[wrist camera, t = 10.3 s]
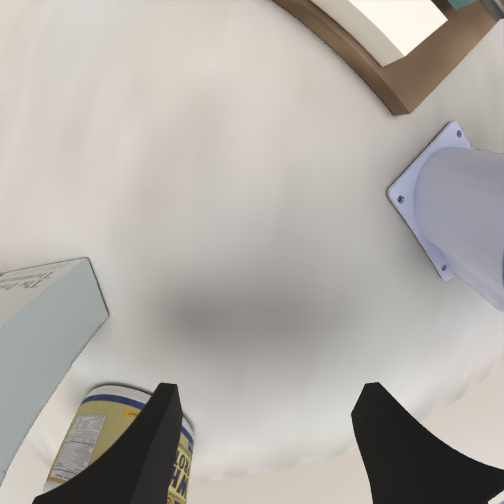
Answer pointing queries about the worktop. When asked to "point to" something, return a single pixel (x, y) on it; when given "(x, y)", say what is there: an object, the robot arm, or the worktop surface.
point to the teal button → (460, 3)
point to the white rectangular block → (385, 24)
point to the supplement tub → (113, 438)
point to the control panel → (415, 62)
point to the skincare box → (41, 340)
